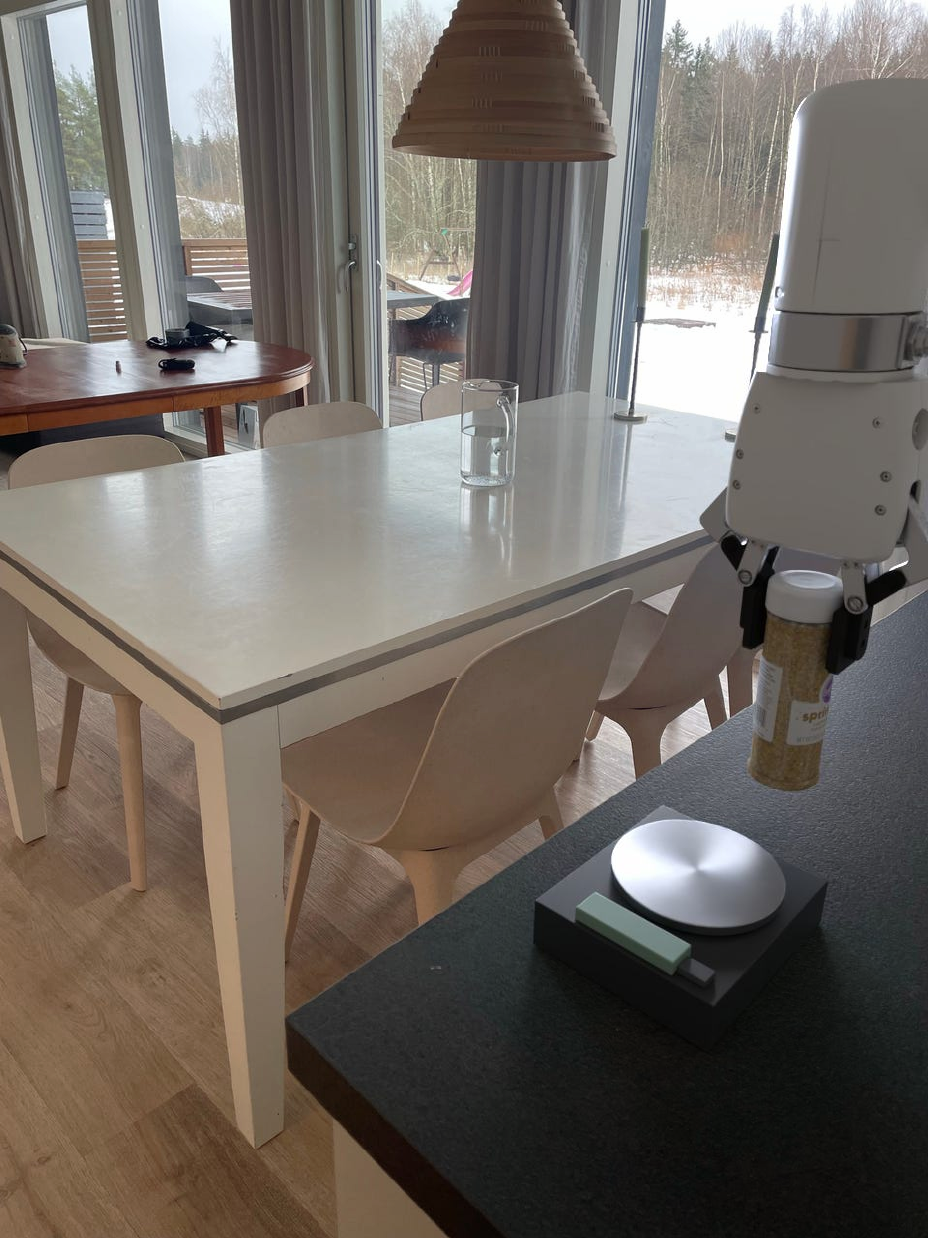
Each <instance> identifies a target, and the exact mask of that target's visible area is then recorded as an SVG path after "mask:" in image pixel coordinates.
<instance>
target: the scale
mask: <svg viewBox="0 0 928 1238" xmlns="http://www.w3.org/2000/svg"><path fill="white" fill-rule="evenodd" d="M666 820H690V821H698V820H696V819H694V818H692V817H690V816H688V815H686V814H684V813H682V812H679V811H677V810H675V809H673V808H670V807H668V806H666V805H663V804H662V805H660V806H659V807H657V808H656V809H655V810H654V811H652V812H651V813H649V814H648V815H647V816H646V817H645V818H643V819H641V820H640V821H638V823H636V824H635V825H633V826H632V827H631V828H630V829H628V830H627V831H626V832H624V833H623V834H622V835H620V836H619V837H618V838H617V839H615V840H614V841H612V842H611V843H609V844H608V845H607V846H606V847H605V848H603V849H601V850H600V851H599V852H598V853H596V854H595V855H594V856H592V857H591V858H590V859H588V860H587V861H586V862H584V863H583V864H581V865H580V866H578V868H576V869H575V870H574V871H572V872H571V873H570V874H568V875H567V876H566V877H564V878H563V879H561V881H559V882H557V883H556V884H555V885H554V886H553V887H551V888H550V889H548V890H547V891H546V892H544V893H543V894H542V895H541V896H539V897H538V898H536V899H535V900H534V910H533V911H534V913H533V915H534V916H533V931H532V933H533V935H532V938H533V939H532V943H533V944H534V945H535V946H536V947H538V948H539V949H542V950H543V951H545V952H546V953H547V954H549V955H550V956H552V957H554V958H555V959H557V960H559V961H561V962H562V963H564V964H565V965H567V966H568V967H570V968H571V969H573V970H575V971H576V972H578V973H579V974H581V975H583V976H584V977H586V978H587V979H589V980H590V981H592V982H594V983H596V984H597V985H599V986H600V987H602V988H603V989H605V990H607V991H608V992H610V993H611V994H613V995H614V996H616V997H617V998H619V999H621V1000H622V1001H623V1002H625V1003H627V1004H628V1005H630V1006H632V1007H633V1008H635V1009H636V1010H638V1011H640V1012H641V1013H643V1014H644V1015H646V1016H648V1017H649V1018H651V1019H653V1021H656V1022H657V1023H659V1024H660V1025H662V1026H663V1027H665V1028H667V1029H669V1030H670V1031H672V1032H673V1033H675V1034H676V1035H677V1036H680V1037H681V1038H682V1039H684V1040H686V1041H687V1042H689V1043H691V1044H692V1045H694V1046H695V1047H697V1048H698V1049H699V1050H701V1051H703V1052H705V1053H708V1052H710V1050H712V1048H713V1047H714V1046H715V1045H716V1044H717V1042H718V1041H719V1040H720V1039H721V1038H722V1036H723V1035H724V1034H725V1033H726V1032H727V1031H728V1029H729V1028H730V1027H731V1026H732V1025H733V1024H734V1022H735V1021H736V1020H737V1019H738V1018H739V1017H740V1016H741V1014H742V1013H743V1012H744V1011H745V1010H746V1009H747V1008H748V1007H749V1005H750V1004H751V1003H752V1002H753V1001H754V999H756V997H757V996H758V995H759V994H760V993H761V992H762V990H763V989H764V988H765V987H766V985H767V984H768V983H769V982H770V981H771V980H772V979H773V978H774V977H775V975H776V974H777V973H778V972H779V971H780V970H781V968H782V967H783V966H784V965H785V963H787V961H788V960H789V959H790V958H791V957H792V956H793V954H795V952H796V951H797V950H798V949H799V948H800V947H801V945H802V944H803V943H804V942H805V941H806V939H807V938H808V937H809V936H810V935H811V934H812V933H813V931H814V930H815V929H816V928H817V927H818V926H819V925H820V923H821V922H822V916H823V912H824V905H825V902H826V901H825V900H826V895H827V891H828V885H829V880H828V879H826V878H824V877H822V876H819V875H817V874H815V873H813V872H810V871H808V870H806V869H803V868H801V867H800V866H797V865H795V864H793V863H791V862H789V861H787V860H784V859H782V858H780V857H778V856H775V855H773V854H771V853H769V854H770V855H771V856H772V857H773V858H774V860H775V861H776V862H777V864H778V865H779V867H780V868H781V870H782V873H783V875H784V879H785V883H786V891H785V897H784V901H783V905H782V907H781V909H780V911H779V912H778V913H777V915H776V916H775V917H774V918H773V919H772V920H771V921H769V922H768V923H766V924H765V925H763V926H762V927H759V928H757V929H755V930H752V931H749V932H745V933H741V934H735V935H724V936H712V935H701V934H694V933H689V932H684V931H680V930H677V929H673V928H670V927H668V926H665V925H663V924H660V923H658V922H656V921H654V920H652V919H650V918H648V917H647V916H645V915H643V914H642V913H640V912H639V911H637V910H636V909H635V908H634V907H632V906H631V905H630V904H629V903H628V902H627V901H626V900H625V899H624V898H623V897H622V895H621V894H620V893H619V891H618V890H617V888H616V886H615V884H614V882H613V879H612V876H611V857H612V853H613V850H614V848H615V846H616V844H617V843H618V842H619V840H620V839H621V838H622V837H623V836H624V835H626V834H627V833H628V832H630V831H632V830H633V829H635V828H638V827H640V826H643V825H646V824H649V823H653V822H658V821H666Z"/></svg>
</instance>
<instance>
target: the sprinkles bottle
mask: <svg viewBox="0 0 928 1238" xmlns="http://www.w3.org/2000/svg"><path fill="white" fill-rule="evenodd" d="M843 598H844V594H843V584H842V578H839V577H837V576H835V575H832V574H829V573H826V572H821V571H814V570H804V569H803V570H802V569H792V570H783V571H779V572H777V573H776V572H775V574H774V575H773V576H771V577H770V579H769V581H768V587H767V593H766V601H765V606H766V608H767V609H766V611H767V619H766V627H765V636H764V643H763V644H762V650H761V653H760V660H759V667H758V668H759V670H758V678H757V684H756V685H757V686H756V694H755V704H754V709H753V710H754V711H753V720H752V729H753V731H752V741H751V746H750V747H751V748H750V756H749V758H748V759H747V763H746V767H747V772H748V774H749V775H750V776H751V777H752V779H753V780H755V781H756V782H757V783H758V784H761V785H762V786H766V787H768V788H770V789H773V790H779V791H782V792H800V791H806V790H809V789H810V788H812V787H814V786H816V785H817V783H818V782H819V781H820V777H821V771H820V764H821V754H822V750H823V742H824V737H825V735H826V731H827V723H828V715H829V711H830V704H831V696H832V689H833V681H834V676H835V675H834V674H831V673H828V671H827V670H825V664H826V658H827V651H828V644H829V638H830V631H831V624H832V618H833V614H834V612H835V610H837V609H838V608H840V607H841V606H842V604H843Z"/></svg>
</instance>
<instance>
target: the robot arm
mask: <svg viewBox="0 0 928 1238" xmlns="http://www.w3.org/2000/svg"><path fill="white" fill-rule="evenodd" d="M781 215H782V216H781V224H780V235H779V243H778V251H777V252H778V253H777V262H776V271H775V280H774V290H773V298H772V309H771V314H770V322H769V330H768V339H767V340H768V341H767V349H766V350H767V351H766V360H765V364H764V365H761V366H758V367H756V368H755V369H754V372H753V374H752V375H753V376H752V377H751V381H750V383H749V386H748V390H747V392H746V396H745V399H744V403H743V406H742V410H741V414H740V417H739V422H738V426H737V430H736V435H735V439H734V443H733V449H732V455H731V461H730V466H729V472H728V480H727V486H725V488H724V489H723V490H722V491H721V492H720V493H719V494H718V496H716V497H715V499H714V500H713V501H712V502H711V503H710V504H709V505H708V506H707V508H706V509H705V510H704V511H703V512H702V513H701V514H700V516H699V518H698V521H699V524H700V526H701V527H702V528H703V529H704V530H705V531H706V533H707V534H708V535H709V536H710V537H711V539H713V540H714V541H715V543H717V544H719V545H720V549H721V551H722V553H723V555H724V556H725V557H726V559H727V560H728V562H729V563H730V564H731V566H732V567H733V569H734V570H735V571H736V573H735V579H736V581H737V583H738V584H739V585H741V586H743V587H742V598H741V606H740V615H739V627H740V629H743V632H742V640H741V647H742V648H744V649H747V650H750V651H752V650H754V649H757V648H758V647H760V646H761V645H764V636H765V627H766V619H767V611H766V609H767V608H766V606H765V601H766V593H767V587H768V581H769V579H770V577H771V576H773V575H774V574H776V571H775V570H776V568H777V565H778V562H779V560H780V557H781V554H782V552H783V549H784V548H786V549H789V550H793V551H798V552H803V553H808V554H813V555H818V556H822V557H827V558H832V559H836V560H839V563H840V564H839V565H840V573H841V580H842V584H843V594H844V598H843V604H842V606H841V607H840V608H838V609H837V610H835V612H834V614H833V618H832V624H831V631H830V638H829V644H828V651H827V658H826V664H825V670H827V671H828V673H831V674H834V676H839V675H840V674H841V673H843V672H844V671H845V670H847V669H848V668H849V667H850V666H851V665H854V663H855V662H859V661H860V660H862V659H863V657H864V656H865V654H866V651H867V650H868V649H867V648H868V643H869V636H870V630H871V625H872V619H873V613H874V607H875V606H876V605H877V604H879V603H881V602H883V601H884V600H886V599H887V598H889V597H891V596H893V595H895V594H896V593H897V592H899V591H901V590H904V589H906V588H909V587H912V586H914V585H916V584H917V585H918V584H919V583H921V582H924V581H926V580H928V520H927V518H926V516H925V515H924V513H925V506H926V499H927V489H928V487H927V486H928V374H925V373H919V372H915V368H916V366H917V365H919V364H920V363H921V360H922V359H926V358H928V312H924V310H925V308H926V307H925V305H926V300H927V295H928V78H920V77H878V78H877V77H876V78H863V79H856V80H849V81H843V82H838V83H834V84H827V85H825V86H823V87H820V88H818V89H816V90H813V91H812V92H811V93H809V94H808V95H807V96H806V97H804V99H803V100H802V101H801V103H800V105H799V106H798V108H797V110H796V111H795V114H794V117H793V121H792V126H791V133H790V139H789V148H788V158H787V168H786V177H785V185H784V196H783V204H782V214H781ZM899 548H904V549H905V550H906V552H907V555H908V560H907V561H905V562H902V563H901V564H897V565H895V566H893V567H891V568H889V569H888V570H886V571H885V572H884V571H883V562H886V561H887V560H889V559H890V558H891V557H892V556H893V553H894V551H895V549H899Z"/></svg>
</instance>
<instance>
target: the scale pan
mask: <svg viewBox="0 0 928 1238" xmlns="http://www.w3.org/2000/svg"><path fill="white" fill-rule="evenodd" d="M770 854H771V853H769V852H768V851H767V850H766V849H765V848H763V846H761V845H759V843H757V842H756V841H754V840H752V839H751V838H749V837H747V836H745V835H743V834H741V833H739V832H737V831H735V830H732V829H729V828H727V827H724V826H721V825H717V824H714V823H709V822H703V821H699V820H697V821H690V820H666V821H658V822H653V823H649V824H646V825H643V826H640V827H638V828H635V829H633V830H632V831H630V832H628V833H627V834H626V835H624V836H623V837H622V838H621V839H620V840H619V842H618V843H617V844H616V846H615V848H614V850H613V853H612V857H611V876H612V879H613V882H614V884H615V886H616V888H617V890H618V891H619V893H620V894H621V895H622V897H623V898H624V899H625V900H626V901H627V902H628V903H629V904H630V905H631V906H632V907H634V908H635V909H636V910H637V911H639V912H640V913H642V914H643V915H645V916H647V917H648V918H650V919H652V920H654V921H656V922H658V923H660V924H663V925H665V926H668V927H670V928H673V929H677V930H680V931H684V932H689V933H694V934H701V935H712V936H724V935H735V934H741V933H745V932H749V931H752V930H755V929H757V928H759V927H762V926H763V925H765V924H766V923H768V922H769V921H771V920H772V919H773V918H774V917H775V916H776V915H777V913H778V912H779V911H780V909H781V907H782V905H783V901H784V897H785V891H786V883H785V879H784V875H783V873H782V870H781V868H780V867H779V865H778V864H777V862H776V861H775V860H774V858H773V857H772V856H771V855H772V854H771V855H770Z"/></svg>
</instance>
